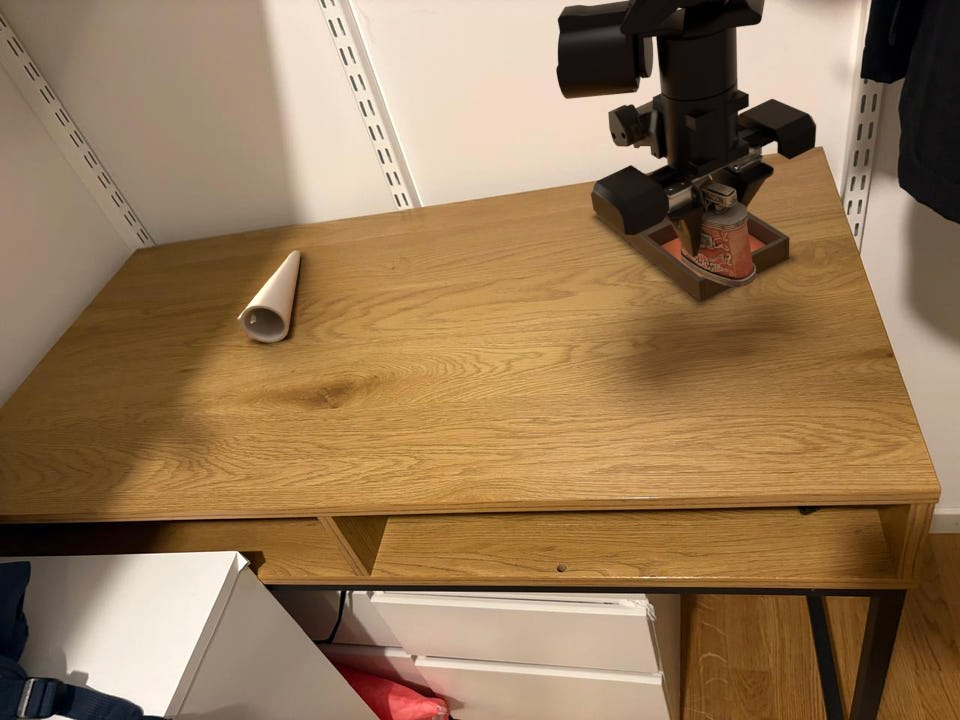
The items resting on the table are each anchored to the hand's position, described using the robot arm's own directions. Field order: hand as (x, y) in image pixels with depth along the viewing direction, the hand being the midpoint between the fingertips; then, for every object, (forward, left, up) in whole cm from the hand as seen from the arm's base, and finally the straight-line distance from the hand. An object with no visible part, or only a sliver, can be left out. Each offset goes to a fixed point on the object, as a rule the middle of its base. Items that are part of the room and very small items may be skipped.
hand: (707, 246), depth 68 cm
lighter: (-1, 0, -3) cm, 3 cm away
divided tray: (-9, -18, -12) cm, 23 cm away
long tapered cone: (+37, -43, -13) cm, 58 cm away
